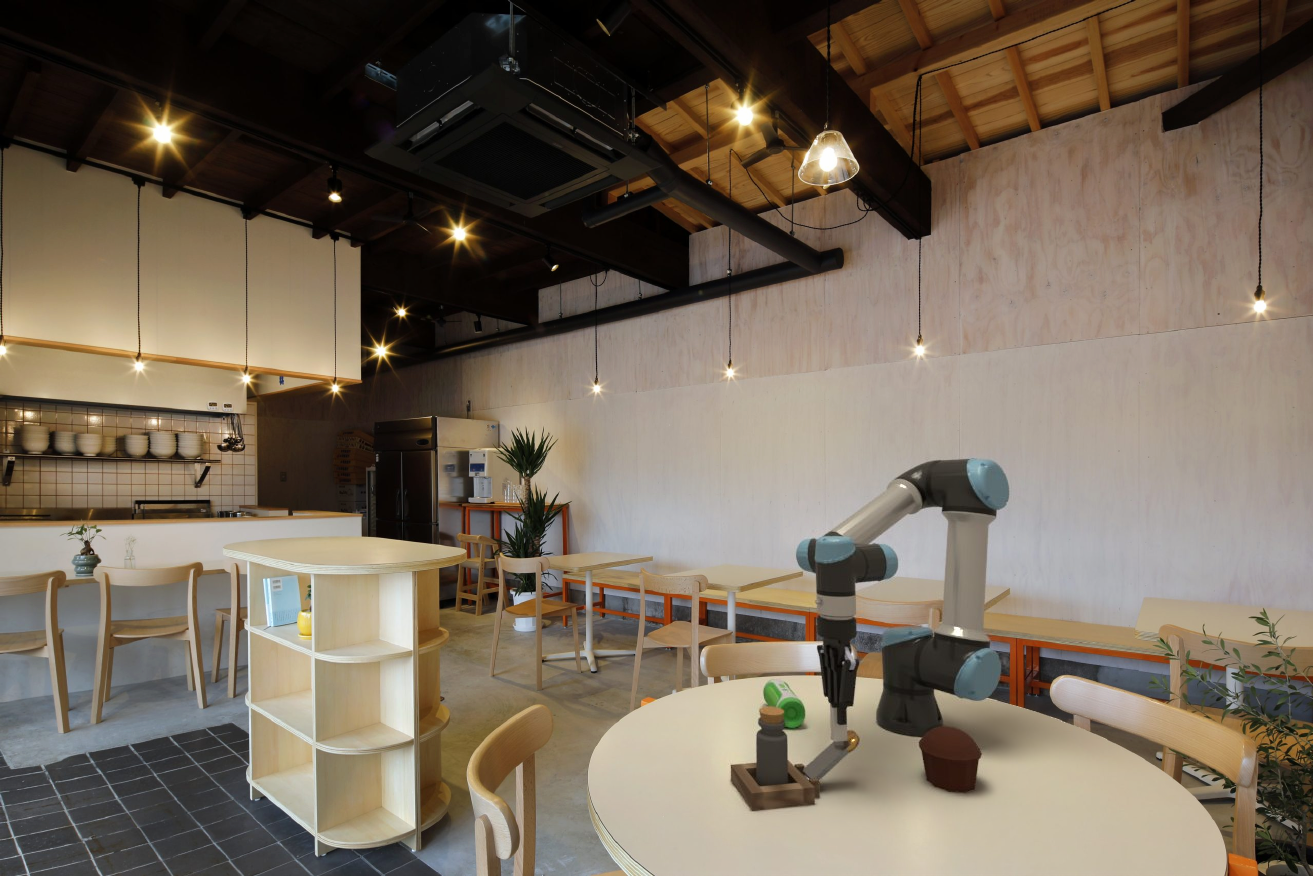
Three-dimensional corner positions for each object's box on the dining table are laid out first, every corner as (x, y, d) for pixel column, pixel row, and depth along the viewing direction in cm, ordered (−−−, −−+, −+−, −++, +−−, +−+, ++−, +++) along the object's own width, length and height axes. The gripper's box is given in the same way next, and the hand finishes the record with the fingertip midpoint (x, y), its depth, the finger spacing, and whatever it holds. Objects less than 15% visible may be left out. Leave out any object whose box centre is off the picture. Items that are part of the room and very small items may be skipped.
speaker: (807, 730, 152) (807, 698, 153) (777, 731, 152) (777, 698, 153) (789, 705, 170) (788, 676, 170) (761, 706, 170) (761, 676, 170)
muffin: (934, 764, 134) (932, 715, 134) (991, 782, 126) (989, 729, 127) (909, 783, 125) (908, 730, 126) (969, 803, 118) (967, 746, 118)
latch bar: (851, 730, 128) (848, 726, 128) (864, 740, 123) (861, 736, 123) (800, 777, 125) (797, 772, 125) (811, 788, 120) (808, 784, 120)
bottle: (788, 801, 118) (787, 716, 119) (755, 797, 119) (755, 714, 120) (787, 786, 124) (787, 706, 125) (757, 783, 125) (756, 704, 126)
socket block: (797, 774, 129) (797, 759, 129) (825, 803, 117) (824, 786, 117) (730, 780, 126) (730, 764, 126) (752, 811, 114) (752, 793, 114)
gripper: (804, 610, 132) (806, 729, 130) (834, 623, 119) (837, 755, 117) (837, 609, 134) (840, 726, 132) (871, 621, 121) (874, 751, 119)
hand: (839, 739), depth 125 cm, fingers closed
